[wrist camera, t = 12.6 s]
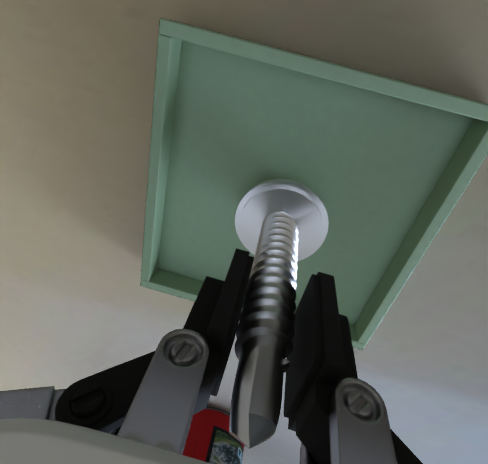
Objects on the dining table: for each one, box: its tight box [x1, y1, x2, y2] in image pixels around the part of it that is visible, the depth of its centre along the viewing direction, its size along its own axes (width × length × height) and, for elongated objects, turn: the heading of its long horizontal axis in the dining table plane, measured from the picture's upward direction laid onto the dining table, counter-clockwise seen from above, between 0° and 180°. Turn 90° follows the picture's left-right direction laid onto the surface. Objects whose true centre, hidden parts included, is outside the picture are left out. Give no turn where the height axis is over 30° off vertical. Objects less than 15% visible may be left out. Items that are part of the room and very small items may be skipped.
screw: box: [229, 179, 329, 449], centre depth 13 cm, size 13×5×5 cm
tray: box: [140, 18, 488, 350], centre depth 18 cm, size 15×15×2 cm
